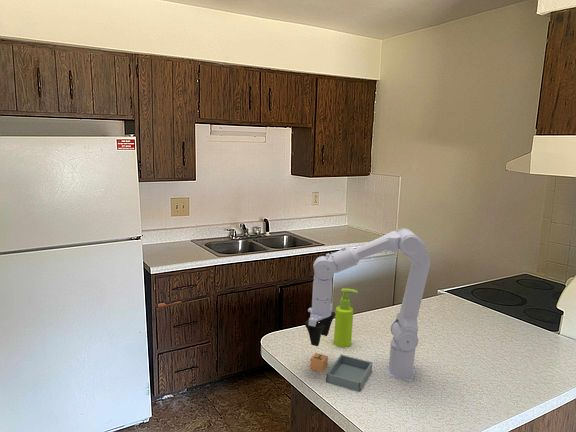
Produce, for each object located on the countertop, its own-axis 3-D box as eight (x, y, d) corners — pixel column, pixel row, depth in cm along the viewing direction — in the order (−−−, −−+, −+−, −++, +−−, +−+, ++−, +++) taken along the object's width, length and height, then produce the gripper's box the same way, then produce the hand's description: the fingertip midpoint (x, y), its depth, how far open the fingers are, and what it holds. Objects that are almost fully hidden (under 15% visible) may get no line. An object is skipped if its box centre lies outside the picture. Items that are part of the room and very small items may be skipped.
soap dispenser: (353, 350, 144) (357, 293, 141) (332, 347, 146) (336, 291, 142) (354, 342, 150) (358, 287, 147) (334, 339, 151) (338, 285, 148)
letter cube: (315, 364, 134) (315, 352, 134) (327, 367, 133) (327, 355, 132) (310, 370, 131) (310, 357, 130) (322, 374, 129) (323, 361, 128)
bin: (340, 363, 135) (341, 354, 135) (371, 371, 131) (372, 362, 131) (325, 383, 124) (326, 373, 123) (359, 393, 120) (360, 383, 119)
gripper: (318, 287, 136) (316, 328, 138) (299, 302, 123) (297, 346, 125) (339, 291, 133) (337, 333, 135) (322, 307, 120) (320, 352, 122)
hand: (319, 339), depth 130 cm, fingers open, 7 cm apart
